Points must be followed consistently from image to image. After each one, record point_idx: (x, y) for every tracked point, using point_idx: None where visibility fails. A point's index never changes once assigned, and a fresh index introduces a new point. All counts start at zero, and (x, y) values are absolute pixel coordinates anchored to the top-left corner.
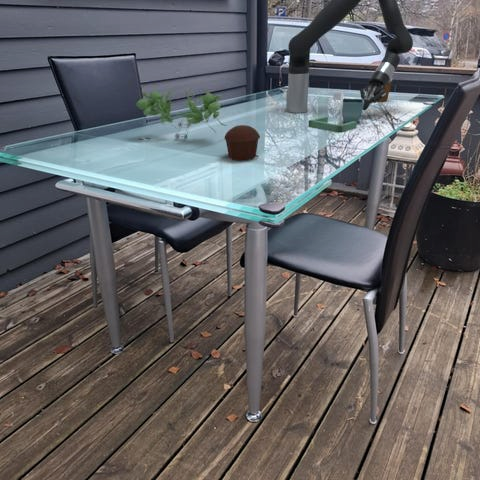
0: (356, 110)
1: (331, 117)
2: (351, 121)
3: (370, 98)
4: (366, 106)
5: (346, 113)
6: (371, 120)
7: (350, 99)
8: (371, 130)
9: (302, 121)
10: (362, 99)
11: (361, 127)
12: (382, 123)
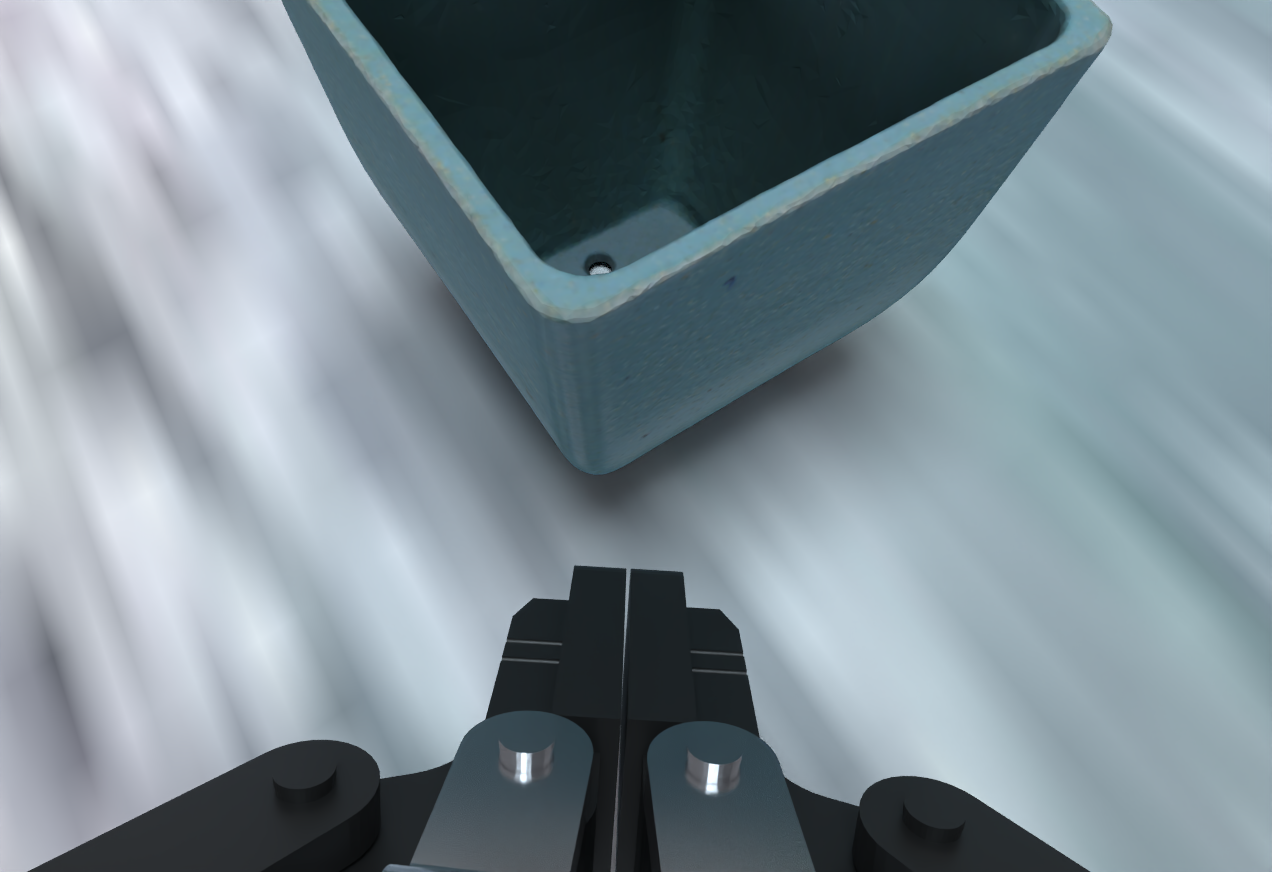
0: (439, 20)
1: (1225, 469)
2: (563, 211)
3: (446, 785)
4: (514, 625)
5: (626, 8)
6: (370, 725)
7: (905, 129)
8: (59, 58)
9: (1248, 2)
10: (534, 252)
11: (282, 127)
12: (25, 591)
